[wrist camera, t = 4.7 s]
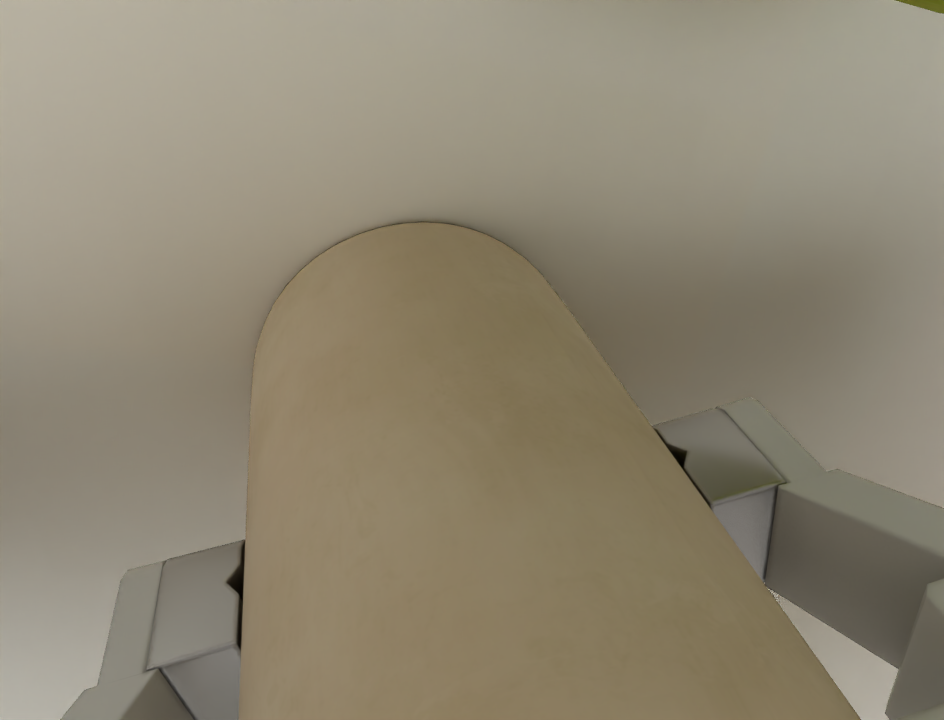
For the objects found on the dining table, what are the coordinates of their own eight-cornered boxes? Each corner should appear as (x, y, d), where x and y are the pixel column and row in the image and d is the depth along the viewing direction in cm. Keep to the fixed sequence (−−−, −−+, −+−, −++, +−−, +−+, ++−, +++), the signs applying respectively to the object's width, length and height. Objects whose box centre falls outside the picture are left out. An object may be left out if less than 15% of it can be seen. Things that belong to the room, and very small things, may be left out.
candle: (209, 445, 13) (94, 1455, 4) (325, 161, 10) (521, 1119, 2) (476, 505, 15) (724, 1238, 7) (618, 283, 13) (1229, 973, 5)
